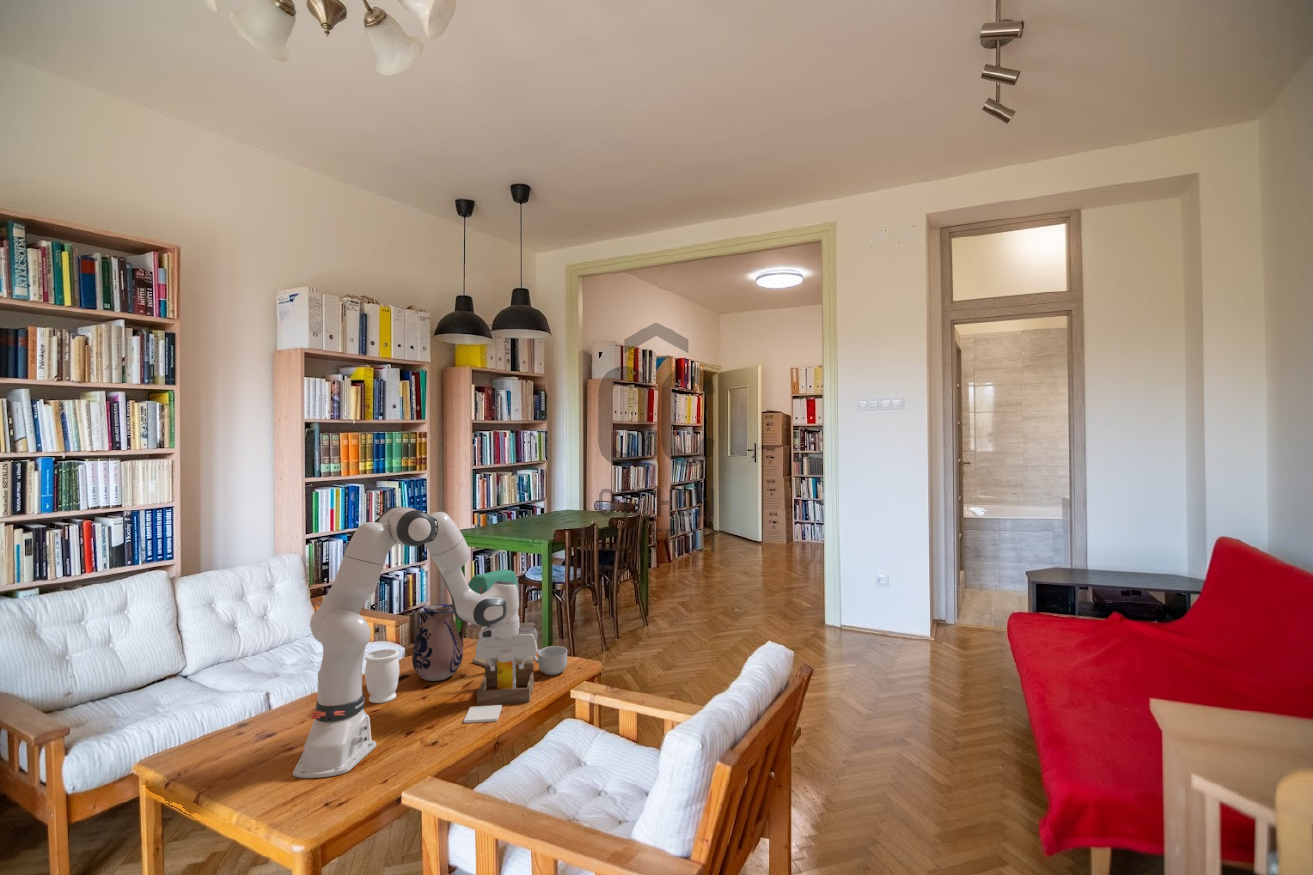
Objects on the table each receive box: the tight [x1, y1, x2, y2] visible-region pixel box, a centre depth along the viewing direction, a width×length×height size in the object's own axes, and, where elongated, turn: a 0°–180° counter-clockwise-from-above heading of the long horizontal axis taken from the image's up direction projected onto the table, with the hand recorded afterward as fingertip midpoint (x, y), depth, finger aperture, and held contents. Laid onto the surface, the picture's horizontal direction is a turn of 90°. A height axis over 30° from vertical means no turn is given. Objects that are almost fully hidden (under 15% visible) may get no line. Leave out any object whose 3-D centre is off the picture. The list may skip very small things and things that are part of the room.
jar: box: [364, 648, 400, 704], centre depth 210 cm, size 11×10×15 cm
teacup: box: [533, 645, 568, 676], centre depth 233 cm, size 14×11×8 cm
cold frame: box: [476, 622, 535, 706], centre depth 215 cm, size 21×17×20 cm
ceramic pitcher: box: [411, 603, 469, 682], centre depth 231 cm, size 18×21×25 cm
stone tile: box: [463, 704, 503, 724], centre depth 196 cm, size 10×10×1 cm
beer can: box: [496, 651, 517, 689], centre depth 212 cm, size 6×6×15 cm
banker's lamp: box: [467, 569, 519, 668], centre depth 242 cm, size 16×21×35 cm
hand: (507, 669), depth 213 cm, fingers open, 8 cm apart
